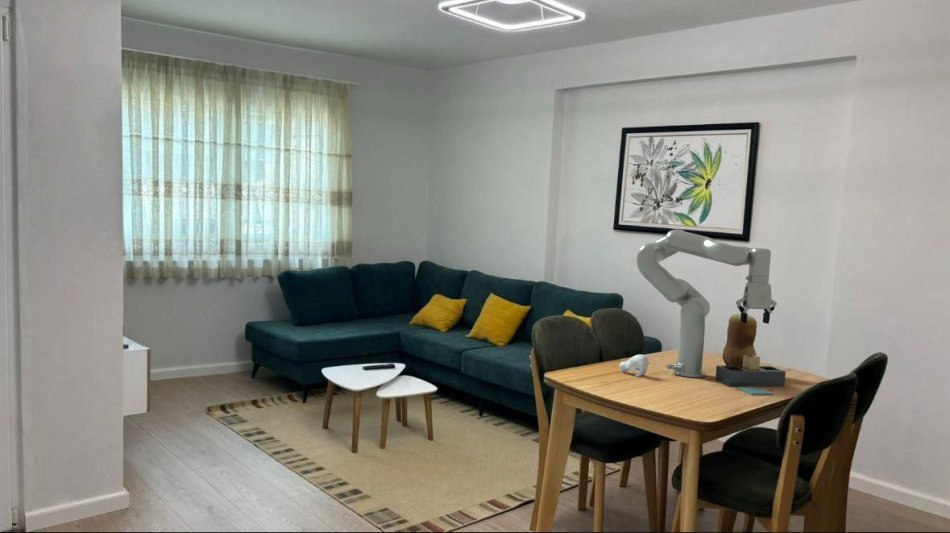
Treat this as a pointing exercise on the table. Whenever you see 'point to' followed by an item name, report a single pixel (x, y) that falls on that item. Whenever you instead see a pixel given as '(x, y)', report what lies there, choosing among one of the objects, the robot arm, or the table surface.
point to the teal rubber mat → (755, 391)
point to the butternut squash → (739, 340)
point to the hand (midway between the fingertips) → (754, 322)
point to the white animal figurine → (635, 365)
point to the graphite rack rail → (750, 376)
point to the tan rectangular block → (751, 362)
